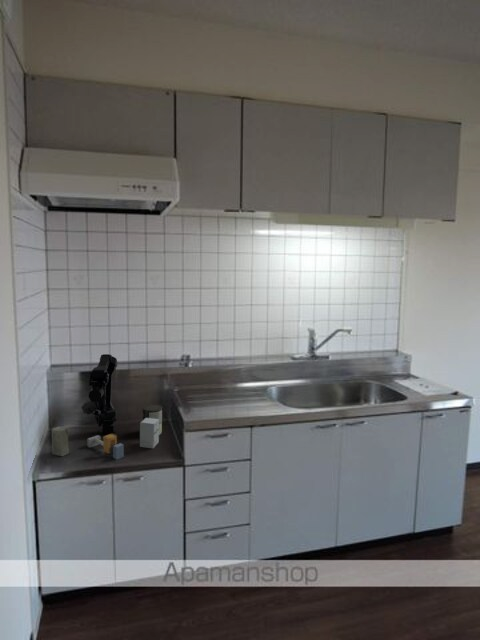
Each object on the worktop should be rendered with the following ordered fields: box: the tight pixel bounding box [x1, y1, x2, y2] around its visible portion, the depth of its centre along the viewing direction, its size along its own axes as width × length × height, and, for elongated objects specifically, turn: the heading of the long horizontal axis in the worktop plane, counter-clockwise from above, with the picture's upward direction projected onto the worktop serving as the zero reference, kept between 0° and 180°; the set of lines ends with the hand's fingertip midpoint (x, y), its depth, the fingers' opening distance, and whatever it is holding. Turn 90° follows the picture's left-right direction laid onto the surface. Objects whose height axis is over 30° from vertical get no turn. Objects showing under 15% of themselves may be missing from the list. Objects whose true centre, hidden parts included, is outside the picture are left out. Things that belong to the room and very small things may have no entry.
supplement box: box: [139, 418, 160, 449], centre depth 230 cm, size 7×7×13 cm
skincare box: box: [51, 426, 70, 457], centre depth 217 cm, size 6×4×12 cm
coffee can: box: [142, 403, 163, 436], centre depth 245 cm, size 10×10×14 cm
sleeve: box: [102, 433, 118, 454], centre depth 219 cm, size 4×5×7 cm
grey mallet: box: [86, 435, 125, 460], centre depth 222 cm, size 22×6×6 cm, turn 51°
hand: (99, 426), depth 223 cm, fingers closed
